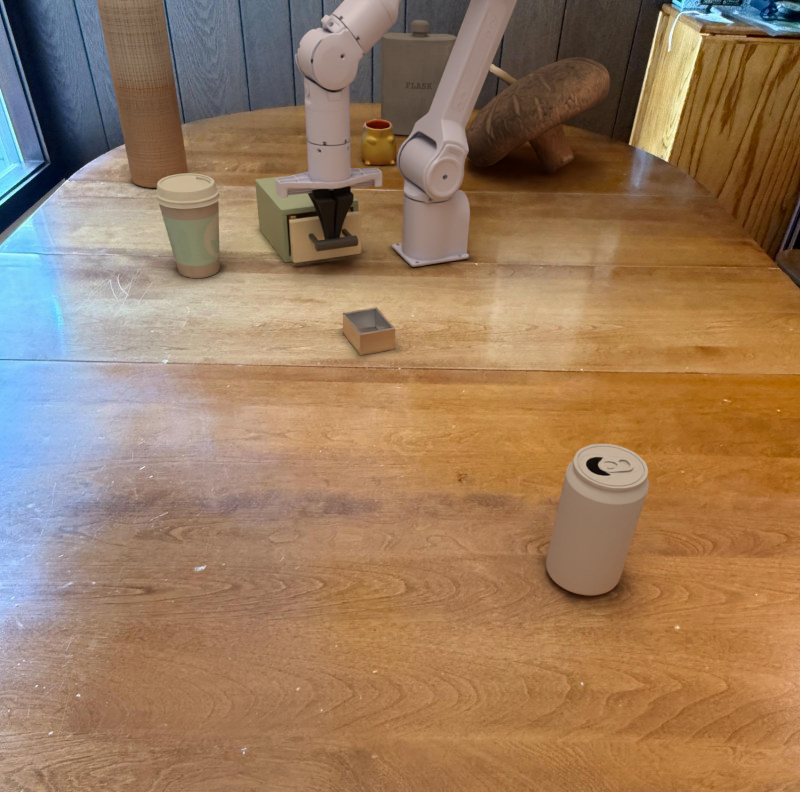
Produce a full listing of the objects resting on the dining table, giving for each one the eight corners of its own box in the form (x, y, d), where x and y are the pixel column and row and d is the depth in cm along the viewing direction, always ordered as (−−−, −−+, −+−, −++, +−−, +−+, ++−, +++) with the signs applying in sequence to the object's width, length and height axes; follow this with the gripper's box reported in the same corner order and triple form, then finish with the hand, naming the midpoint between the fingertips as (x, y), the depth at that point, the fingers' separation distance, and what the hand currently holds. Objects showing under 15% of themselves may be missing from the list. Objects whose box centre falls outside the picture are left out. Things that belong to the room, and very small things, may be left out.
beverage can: (537, 550, 69) (559, 440, 61) (607, 547, 70) (638, 438, 62) (553, 603, 64) (580, 491, 56) (628, 599, 65) (665, 488, 57)
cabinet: (358, 252, 117) (358, 200, 112) (284, 262, 114) (281, 209, 108) (328, 220, 126) (327, 171, 121) (259, 229, 123) (254, 179, 118)
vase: (200, 178, 140) (175, -9, 121) (160, 193, 133) (126, -1, 115) (161, 167, 143) (130, -15, 125) (120, 181, 137) (81, -9, 119)
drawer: (372, 265, 111) (373, 225, 108) (303, 276, 108) (301, 234, 104) (332, 223, 123) (331, 185, 119) (269, 231, 120) (266, 193, 116)
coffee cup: (216, 285, 107) (204, 196, 99) (158, 278, 108) (141, 189, 100) (238, 261, 114) (228, 175, 105) (183, 254, 115) (169, 169, 107)
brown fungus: (475, 142, 163) (544, 19, 148) (560, 207, 159) (638, 87, 145) (415, 135, 140) (489, -12, 126) (513, 210, 137) (600, 68, 123)
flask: (381, 135, 162) (382, 22, 149) (380, 127, 166) (381, 17, 153) (452, 137, 163) (459, 24, 149) (449, 129, 167) (456, 19, 154)
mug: (397, 167, 147) (398, 128, 143) (361, 166, 147) (360, 128, 142) (394, 148, 156) (394, 111, 152) (360, 147, 156) (359, 111, 151)
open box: (376, 327, 99) (376, 307, 98) (394, 349, 95) (395, 328, 94) (342, 333, 98) (342, 312, 96) (360, 355, 94) (359, 334, 92)
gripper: (369, 126, 105) (369, 226, 115) (265, 135, 101) (274, 239, 110) (389, 141, 101) (387, 244, 110) (281, 151, 96) (288, 258, 105)
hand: (331, 243), depth 110 cm, fingers closed
